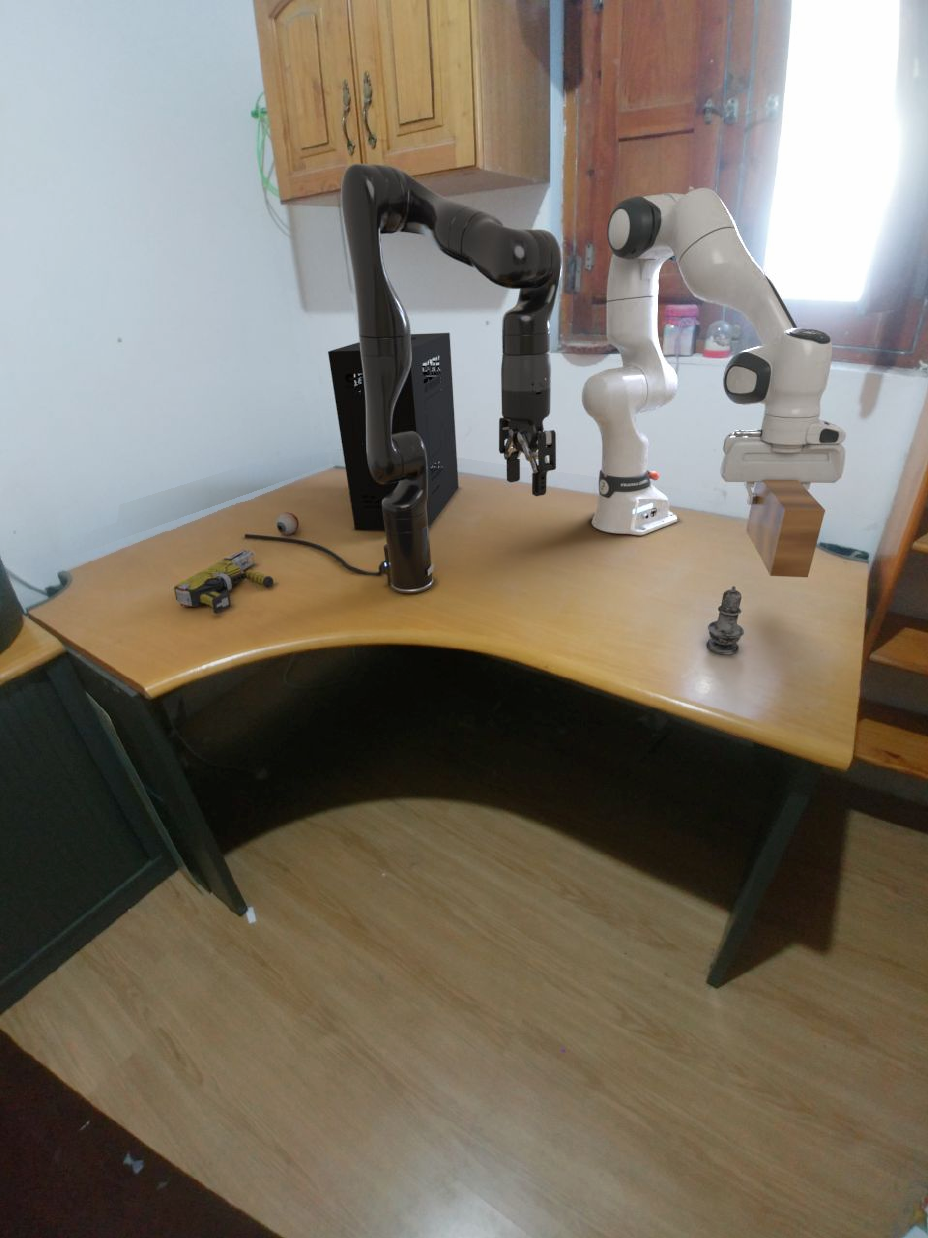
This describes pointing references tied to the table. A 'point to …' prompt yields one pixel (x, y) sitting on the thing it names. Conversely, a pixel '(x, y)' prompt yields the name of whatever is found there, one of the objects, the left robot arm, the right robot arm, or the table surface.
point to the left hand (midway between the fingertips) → (525, 487)
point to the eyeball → (287, 523)
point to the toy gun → (218, 582)
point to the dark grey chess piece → (726, 625)
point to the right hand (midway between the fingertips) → (772, 504)
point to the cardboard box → (399, 425)
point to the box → (785, 526)
